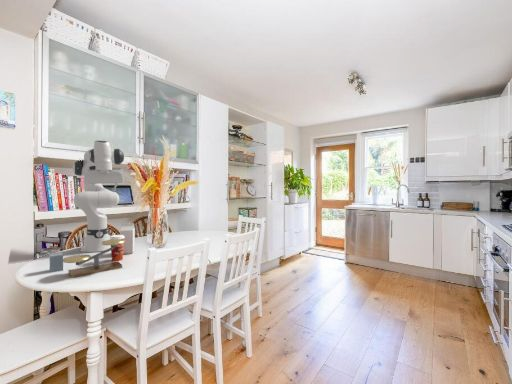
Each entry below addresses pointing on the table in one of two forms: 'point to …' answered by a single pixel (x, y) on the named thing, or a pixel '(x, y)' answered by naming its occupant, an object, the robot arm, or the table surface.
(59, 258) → the block
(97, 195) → the robot arm
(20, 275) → the table surface
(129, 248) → the milk carton
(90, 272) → the balance
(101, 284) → the table surface
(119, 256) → the paper cup
